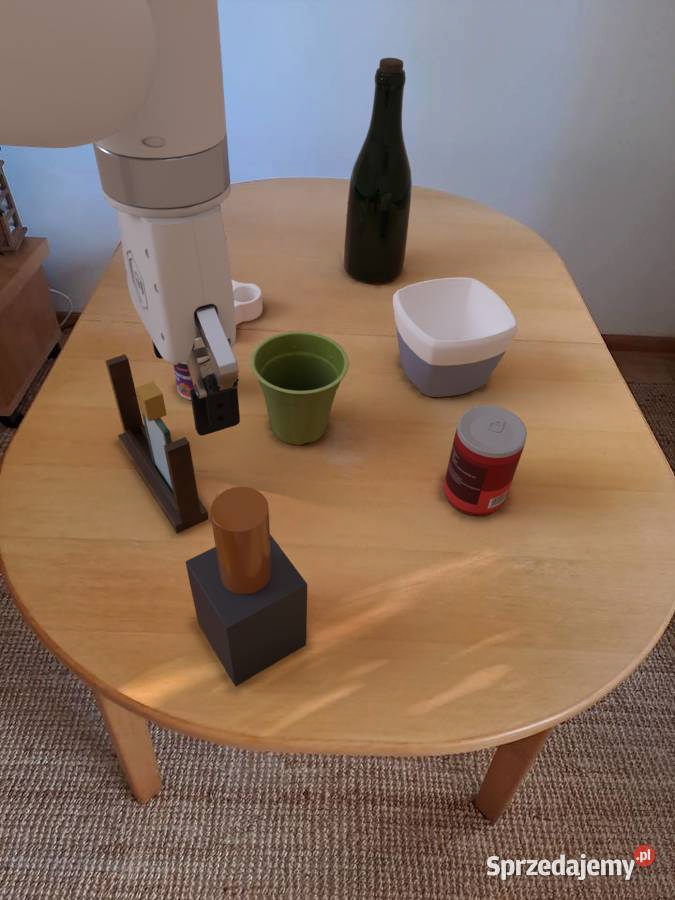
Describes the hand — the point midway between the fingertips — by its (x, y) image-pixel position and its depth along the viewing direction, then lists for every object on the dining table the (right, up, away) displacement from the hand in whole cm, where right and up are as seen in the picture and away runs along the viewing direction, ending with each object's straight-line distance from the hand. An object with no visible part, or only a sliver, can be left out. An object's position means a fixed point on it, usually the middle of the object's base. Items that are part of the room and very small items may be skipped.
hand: (195, 388), depth 52 cm
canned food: (+28, -10, +31) cm, 42 cm away
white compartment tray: (-10, +17, +55) cm, 58 cm away
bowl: (+26, +7, +47) cm, 54 cm away
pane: (-9, -8, +27) cm, 30 cm away
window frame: (-10, -8, +30) cm, 33 cm away
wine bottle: (+17, +27, +66) cm, 73 cm away
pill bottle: (-9, +4, +42) cm, 43 cm away
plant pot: (+6, -2, +37) cm, 38 cm away
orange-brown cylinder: (+3, -16, +8) cm, 18 cm away
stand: (+2, -23, +16) cm, 28 cm away
